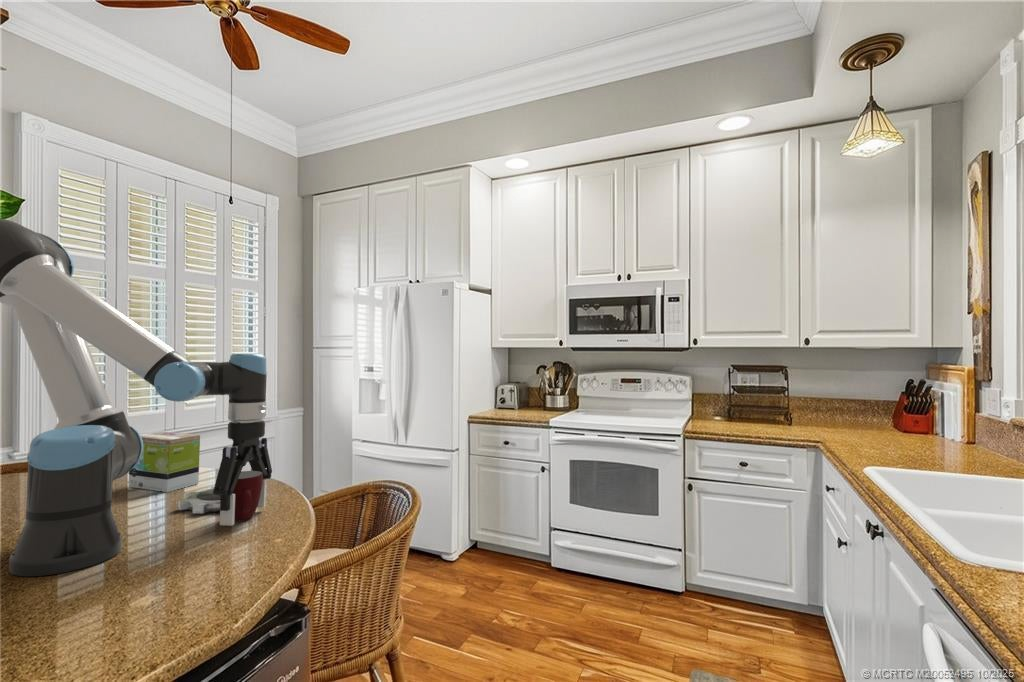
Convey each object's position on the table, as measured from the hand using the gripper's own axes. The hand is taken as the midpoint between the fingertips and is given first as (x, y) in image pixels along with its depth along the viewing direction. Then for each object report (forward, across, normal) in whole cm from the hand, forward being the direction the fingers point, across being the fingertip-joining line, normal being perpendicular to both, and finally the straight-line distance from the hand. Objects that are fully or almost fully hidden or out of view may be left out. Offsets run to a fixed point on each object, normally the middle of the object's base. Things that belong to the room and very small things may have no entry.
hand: (244, 515), depth 111 cm
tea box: (+1, +27, +39) cm, 48 cm away
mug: (+1, 0, 0) cm, 1 cm away
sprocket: (+1, +12, +12) cm, 17 cm away
